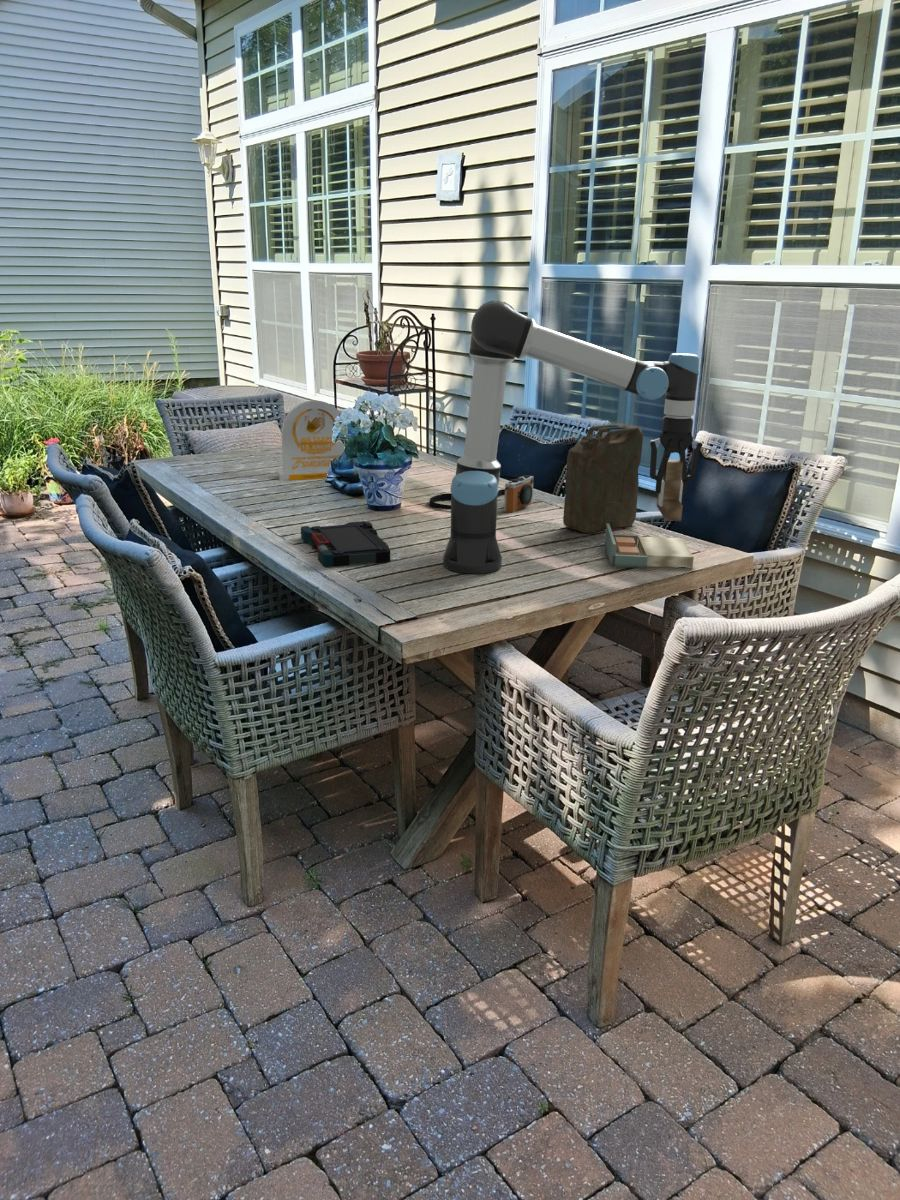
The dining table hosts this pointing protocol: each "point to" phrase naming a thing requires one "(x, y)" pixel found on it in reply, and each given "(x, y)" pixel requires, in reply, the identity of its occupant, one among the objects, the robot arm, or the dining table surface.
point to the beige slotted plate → (665, 552)
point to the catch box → (622, 559)
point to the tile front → (628, 551)
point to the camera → (515, 494)
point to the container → (603, 479)
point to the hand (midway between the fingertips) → (669, 505)
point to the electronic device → (346, 544)
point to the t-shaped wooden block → (672, 491)
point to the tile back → (624, 542)
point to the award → (308, 441)
